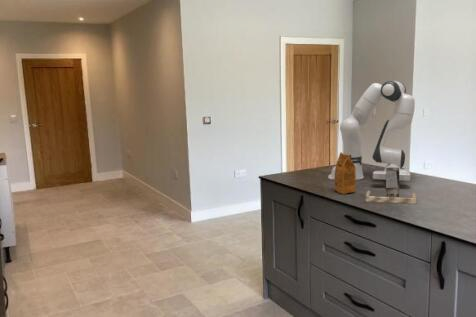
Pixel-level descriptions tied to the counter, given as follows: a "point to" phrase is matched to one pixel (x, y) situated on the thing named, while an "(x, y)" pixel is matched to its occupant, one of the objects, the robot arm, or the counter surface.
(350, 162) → the coffee package
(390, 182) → the coffee box
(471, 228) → the counter surface
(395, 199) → the birch bay
